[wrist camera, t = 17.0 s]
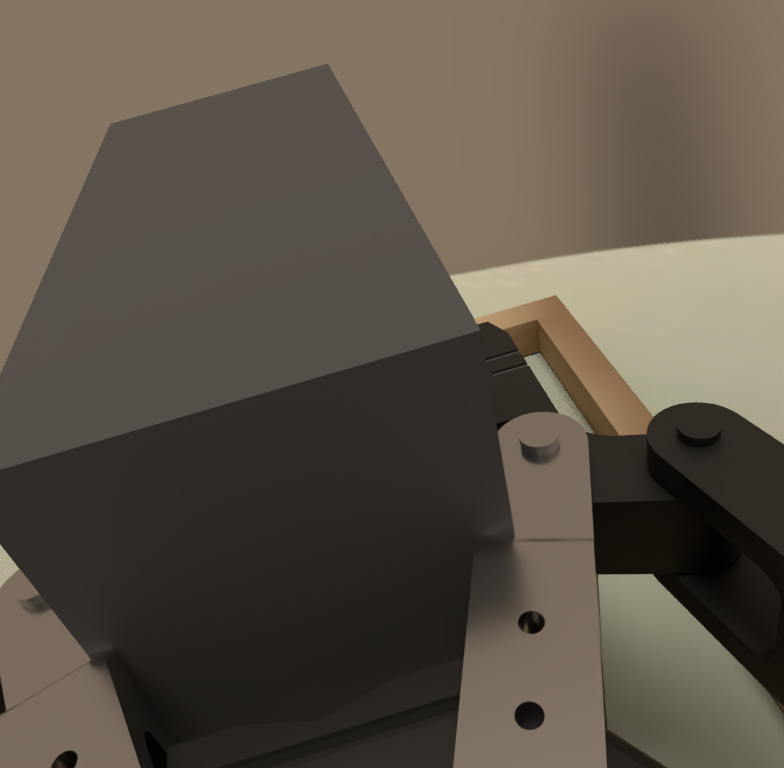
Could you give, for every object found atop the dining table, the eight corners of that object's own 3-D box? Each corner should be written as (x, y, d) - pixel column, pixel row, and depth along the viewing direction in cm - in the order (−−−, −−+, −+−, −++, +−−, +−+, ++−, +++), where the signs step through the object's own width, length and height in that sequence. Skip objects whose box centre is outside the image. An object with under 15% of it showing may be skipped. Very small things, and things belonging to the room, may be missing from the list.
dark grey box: (280, 900, 13) (-49, 483, 7) (253, 433, 23) (115, 111, 17) (561, 812, 13) (480, 330, 7) (407, 387, 23) (322, 54, 17)
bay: (-64, 1096, 11) (-111, 1078, 11) (79, 467, 24) (61, 439, 23) (904, 786, 12) (919, 750, 11) (558, 326, 24) (555, 295, 23)
